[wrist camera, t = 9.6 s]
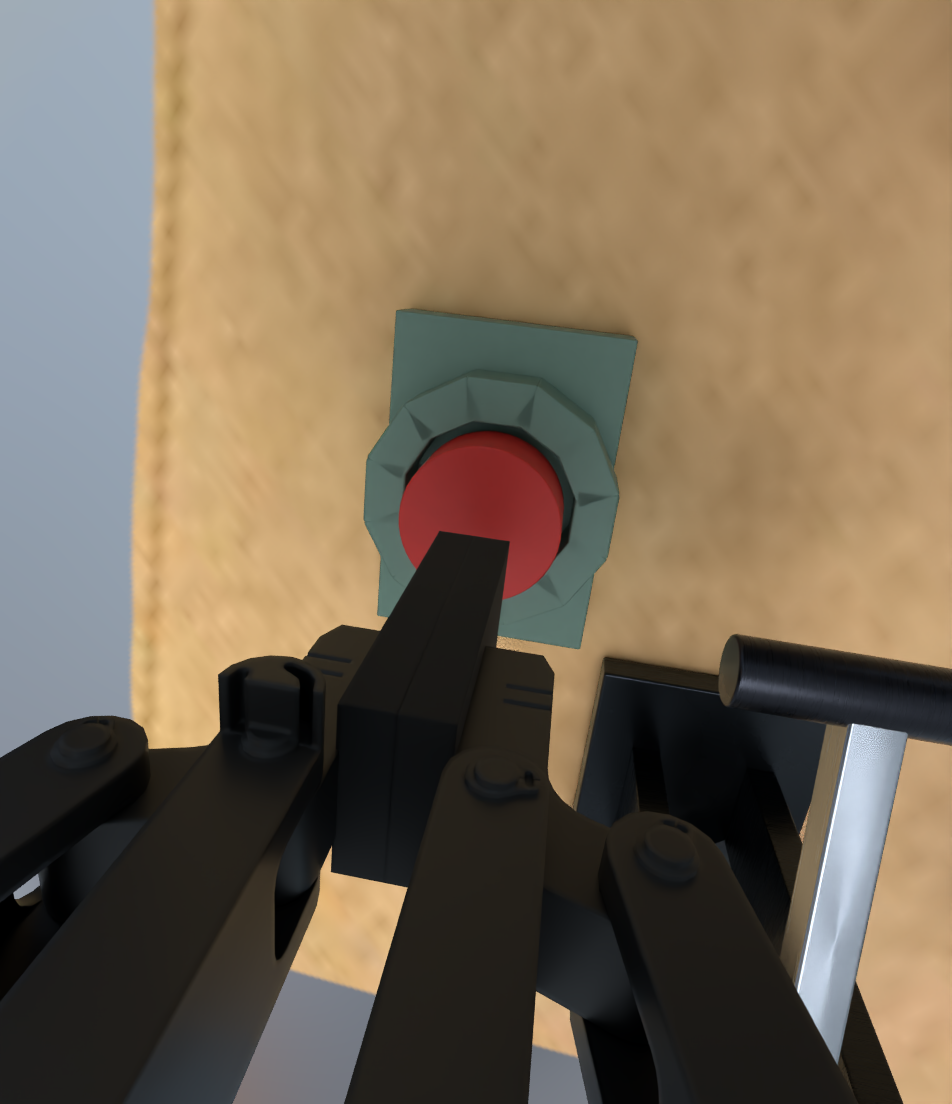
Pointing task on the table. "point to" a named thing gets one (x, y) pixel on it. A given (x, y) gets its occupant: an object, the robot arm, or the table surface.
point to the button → (487, 502)
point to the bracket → (720, 801)
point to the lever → (838, 792)
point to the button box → (517, 409)
